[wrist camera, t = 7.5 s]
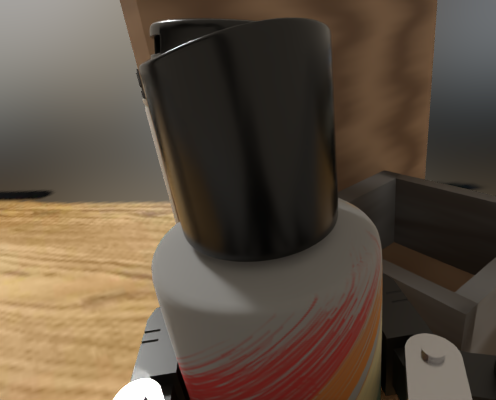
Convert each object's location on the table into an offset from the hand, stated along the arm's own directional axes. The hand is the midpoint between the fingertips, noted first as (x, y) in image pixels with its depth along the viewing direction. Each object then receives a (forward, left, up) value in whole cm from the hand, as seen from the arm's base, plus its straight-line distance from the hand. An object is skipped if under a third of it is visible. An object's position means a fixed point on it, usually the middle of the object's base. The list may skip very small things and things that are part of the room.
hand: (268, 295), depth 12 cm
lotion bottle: (-1, -2, -11) cm, 11 cm away
